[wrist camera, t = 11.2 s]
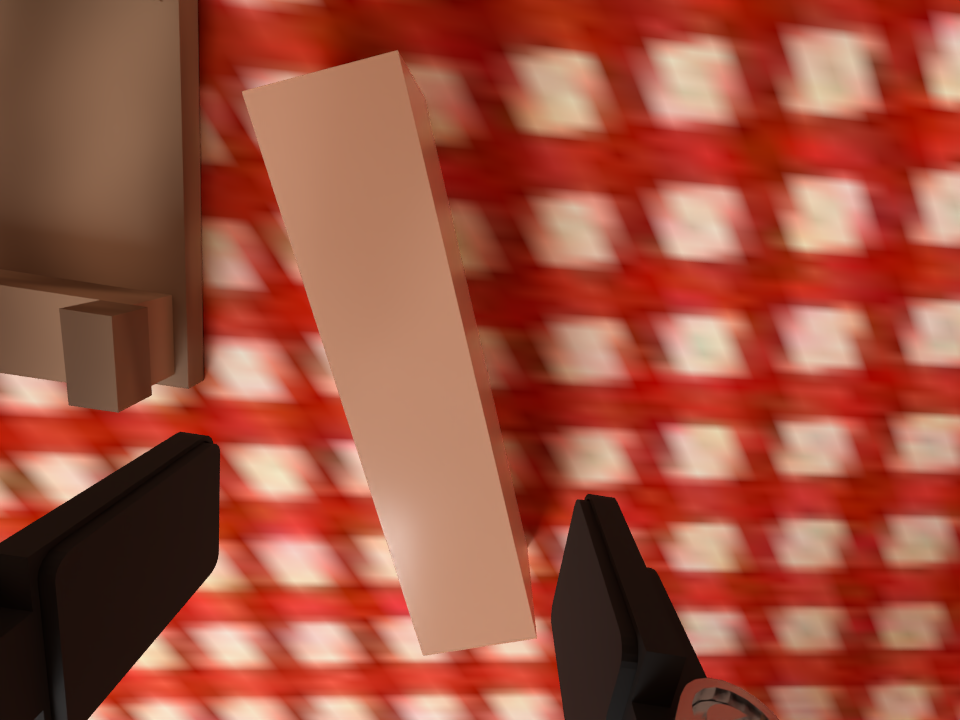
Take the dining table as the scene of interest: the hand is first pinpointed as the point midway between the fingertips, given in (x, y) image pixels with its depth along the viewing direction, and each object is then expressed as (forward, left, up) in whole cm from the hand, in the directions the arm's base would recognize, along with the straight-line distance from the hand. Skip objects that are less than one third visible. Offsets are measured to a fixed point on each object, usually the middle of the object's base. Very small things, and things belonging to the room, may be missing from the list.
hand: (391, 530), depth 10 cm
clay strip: (0, -1, -10) cm, 10 cm away
